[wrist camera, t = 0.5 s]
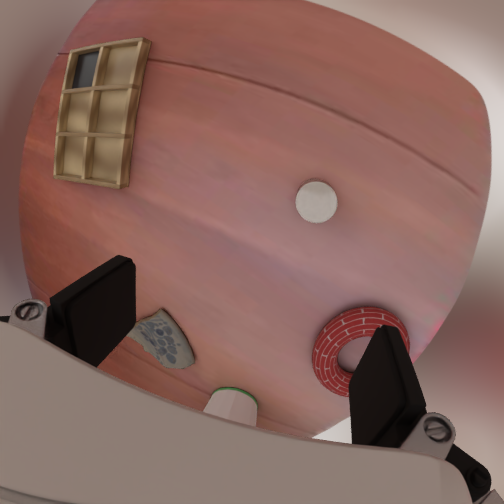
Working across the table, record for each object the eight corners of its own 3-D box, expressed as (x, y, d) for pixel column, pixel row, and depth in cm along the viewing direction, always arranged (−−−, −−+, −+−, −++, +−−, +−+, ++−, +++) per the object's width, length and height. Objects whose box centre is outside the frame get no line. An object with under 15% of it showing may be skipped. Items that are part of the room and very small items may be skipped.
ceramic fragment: (117, 323, 43) (156, 316, 39) (128, 314, 46) (168, 305, 41) (150, 373, 46) (192, 373, 41) (159, 362, 48) (201, 360, 44)
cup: (212, 420, 50) (188, 482, 36) (191, 377, 46) (157, 445, 32) (274, 422, 47) (260, 491, 33) (261, 378, 43) (241, 457, 29)
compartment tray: (79, 52, 30) (70, 50, 28) (151, 41, 28) (143, 37, 26) (62, 176, 38) (53, 178, 36) (128, 186, 36) (119, 189, 34)
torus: (395, 382, 39) (399, 398, 36) (311, 387, 42) (310, 403, 39) (414, 298, 34) (422, 312, 31) (312, 303, 37) (312, 318, 34)
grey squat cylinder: (301, 174, 32) (300, 177, 29) (338, 183, 31) (341, 187, 28) (293, 211, 33) (291, 217, 30) (329, 220, 33) (331, 227, 30)
